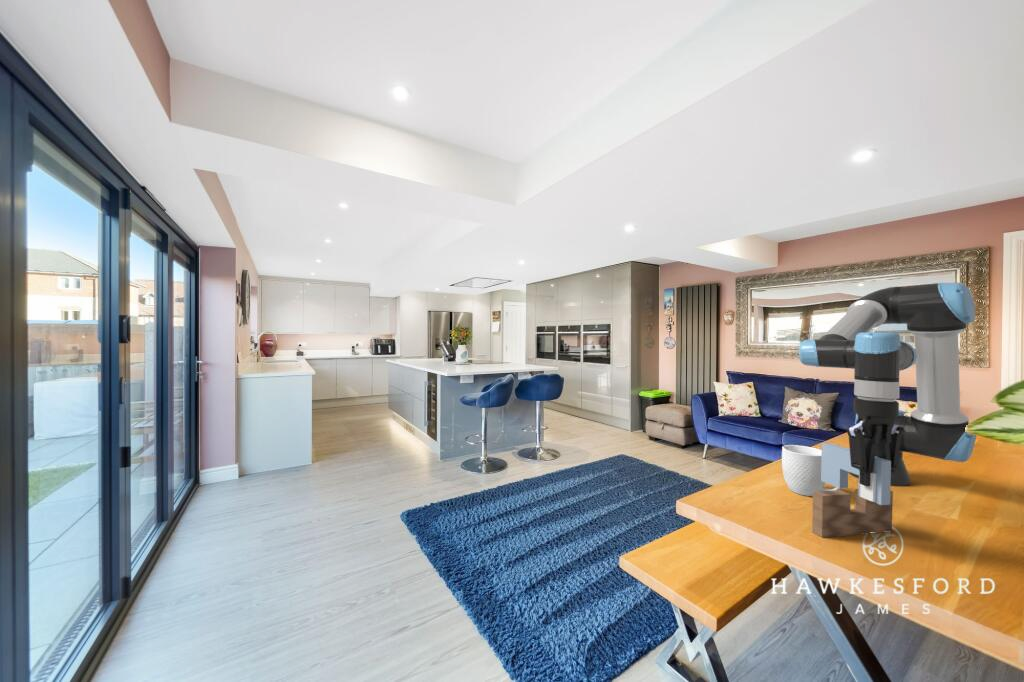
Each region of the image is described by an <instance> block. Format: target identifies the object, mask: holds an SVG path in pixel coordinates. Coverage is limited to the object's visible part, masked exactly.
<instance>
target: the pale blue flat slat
mask: <svg viewBox="0 0 1024 682" xmlns="http://www.w3.org/2000/svg"><path fill="white" fill-rule="evenodd" d="M821 450H822V457H821V481H822V482H825V484H828V485H830V486H833V487H834V488H836V487H837V488H841V489H848V488H849V473H848V472H851V473H854V474H857V475H859V478H858V489H859V493H858V496H860V482H859V480H860V471H859V469H856V468H854V467H852V466H851V459H850V447H845V446H841V445H837V444H834V443H831V442H823V443H821ZM873 473H876V502H874V503H877V504H879V505H890V490H891V486H892V485H891V461H890V460H886V459H883V458H879V457H876V456H875V459H874V467H873Z"/></svg>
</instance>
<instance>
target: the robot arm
mask: <svg viewBox="0 0 1024 682" xmlns="http://www.w3.org/2000/svg"><path fill="white" fill-rule="evenodd" d="M975 319H976V307H975V302H974V298H973V295H972V292H971V290H970V288H969V287H968V286H967V284H964V283H963V282H936V283H935V282H934V283H926V284H925V283H923V284H915V285H904V286H903V285H902V286H890V287H885V288H882V289H877V290H875V291H873V292H870V293H868V294H865V295H863V296H861V297H860V298H858V299H857V300H855V301H854V302H853V303H851V304H850V305H849V307H848V308H847V309H846V313H845V315H843V316H842V318H840V319H839V320H838V322H836V323H835V324H834V325H833V326H831V328H829V330H828V331H826V332H825V333H824V334H823V335H822V336H821V337H820V338H819V339H814V338H812V339H804V340H802V341H801V342H800V344H799V346H798V358H799V361H800V363H801V364H802V365H805V366H807V367H808V366H810V367H815V368H837V369H854V371H853V373H854V377H853V378H854V381H853V382H854V387H853V394H854V396H855V397H854V398H853V413H854V414H855V421H854V425H853V426H850V425H847V426H845V431H846V433H847V435H848V443H849V446H848V447H849V449H850V459H851V466H852V467H854V468H856V469H859V471H860V480H859V475H857V474H854V473H851V472H848V474H850V475H852V476H854V477H855V478H858V483H859V482H860V497H862V498H865V499H867V500H870V501H872V502H876V473H873V467H874V459H875V456H876V457H879V458H883V459H886V460H890V461H891V486H901V487H902V486H908V485H910V483H911V477H910V474H909V472H908V469H907V467H906V464H905V462H904V459H903V457H904V455H903V453H909V454H913V455H914V454H915V455H920V456H925V457H931V458H933V459H939V460H943V461H952V462H957V463H964V462H967V461H969V460H970V458H971V456H972V453H973V451H974V448H975V445H976V440H977V436H976V435H973V434H970V433H967V432H965V427H966V425H968V424H970V423H969V417H968V416H967V415H965V414H964V413H962V412H961V397H960V396H961V392H960V387H961V386H960V364H959V363H960V355H959V351H960V350H959V334H960V333H962V332H964V331H965V330H967V324H970V323H973V322H974V321H975ZM896 324H897V325H900V324H901V325H903V324H904V325H906V331H908V332H909V333H910V334H912V335H913V336H914V346H913V345H911V344H910V343H907V342H905V341H901V336H900V334H899V333H897V332H888V331H886V332H876V331H875V332H871V331H872V330H873V329H874V328H878V327H881V326H882V325H896ZM914 364H915V380H916V381H915V383H916V400H917V401H916V403H917V408H916V409H914V410H913V411H911V412H910V416H908V415H905V413H904V411H903V410H900V403H899V401H898V400H899V399H900V372H901V371H904V370H906V369H909V368H911V366H913V365H914Z"/></svg>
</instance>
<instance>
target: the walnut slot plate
mask: <svg viewBox="0 0 1024 682" xmlns="http://www.w3.org/2000/svg"><path fill="white" fill-rule="evenodd" d="M854 492H855V494H854V495H855V496H854V497H855V498H854V499H855V501H854V508H851V495H852V494H851V493H848V492H846V491H843V490H841V489H840V490H834V491H818V492H813V496H812V524H811V525H812V530H811V532H812V533H813V534H815V535H816V536H818V537H820V538H832V537H833V538H834V537H843V536H845V535H846V536H856V534H857V535H863V534H862V533H868V534H871V533H870V532H880V533H884V532H883V531H891V532H893V503H894V502H893V498H894V496H893V494H894V491H893V490H891V489H890V505H879V504H877V503H874V502H872V501H870V500H867V499H865V498H862V497H860V496H858V493H859V488H855V491H854Z"/></svg>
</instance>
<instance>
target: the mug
mask: <svg viewBox="0 0 1024 682" xmlns="http://www.w3.org/2000/svg"><path fill="white" fill-rule="evenodd" d="M781 448H782V449H781V467H782V468H781V469H782V475H783V478H784V481H785V484H786V485H787V487H788V488H789V490H790V491H792V493H795V494H797V495H801V496H803V497H805V496H806V497H813V492H818V491H834V490H841V489H842V488H837V487H834V488H826V487H825V484H826V483H825V482H822V481H821V457H822V449H819V448H815V447H811V446H806V445H797V444H786V445H783V446H782V447H781Z"/></svg>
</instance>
